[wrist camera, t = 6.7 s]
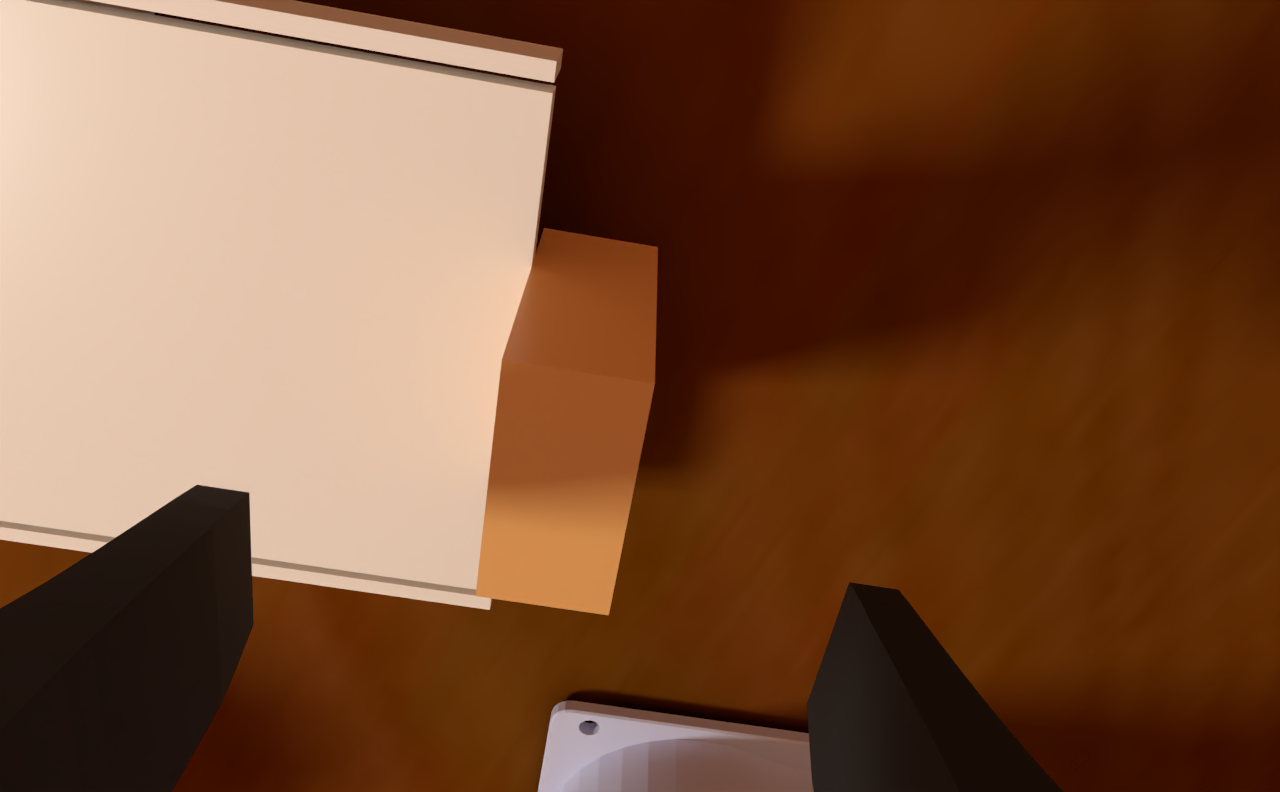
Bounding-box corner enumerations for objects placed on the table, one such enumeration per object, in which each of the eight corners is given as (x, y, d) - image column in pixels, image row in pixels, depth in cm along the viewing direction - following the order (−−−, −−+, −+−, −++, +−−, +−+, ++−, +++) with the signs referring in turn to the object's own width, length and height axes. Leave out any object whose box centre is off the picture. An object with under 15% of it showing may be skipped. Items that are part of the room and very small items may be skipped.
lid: (692, 61, 16) (702, 145, 11) (598, 565, 21) (579, 758, 16) (-281, -114, 15) (-679, -96, 10) (-132, 457, 20) (-360, 631, 15)
